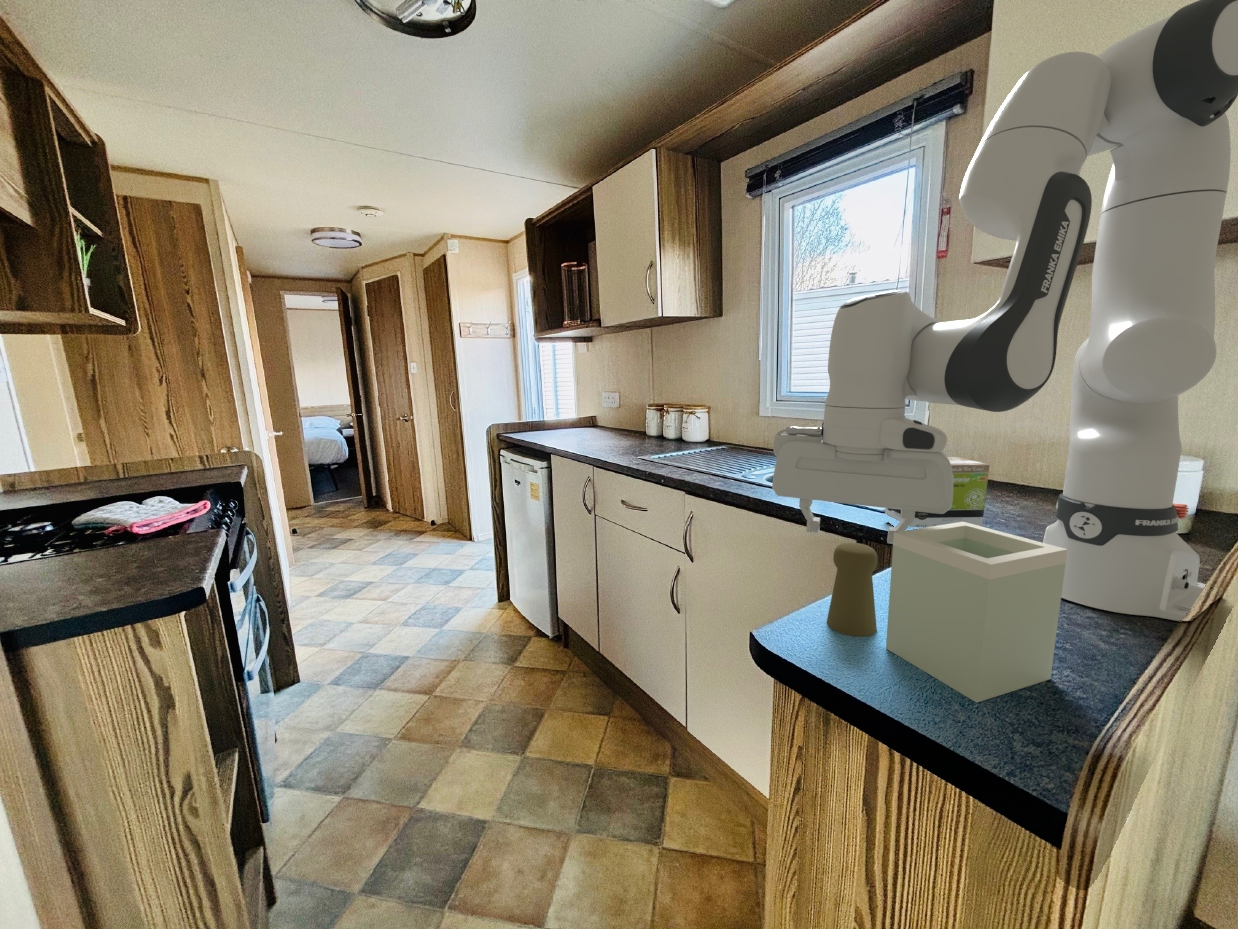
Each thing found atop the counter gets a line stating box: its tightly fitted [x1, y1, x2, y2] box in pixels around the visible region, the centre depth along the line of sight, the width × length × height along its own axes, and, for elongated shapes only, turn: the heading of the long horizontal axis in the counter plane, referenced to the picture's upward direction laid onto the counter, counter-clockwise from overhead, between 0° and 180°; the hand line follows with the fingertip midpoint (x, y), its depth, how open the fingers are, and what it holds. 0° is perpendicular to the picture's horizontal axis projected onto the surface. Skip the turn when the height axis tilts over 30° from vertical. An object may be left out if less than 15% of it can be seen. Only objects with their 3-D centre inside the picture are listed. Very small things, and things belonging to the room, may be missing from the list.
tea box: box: [884, 456, 990, 528], centre depth 105 cm, size 15×10×15 cm
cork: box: [826, 542, 879, 638], centre depth 65 cm, size 6×6×11 cm
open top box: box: [885, 522, 1068, 704], centre depth 56 cm, size 11×11×14 cm
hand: (852, 537), depth 64 cm, fingers open, 8 cm apart
